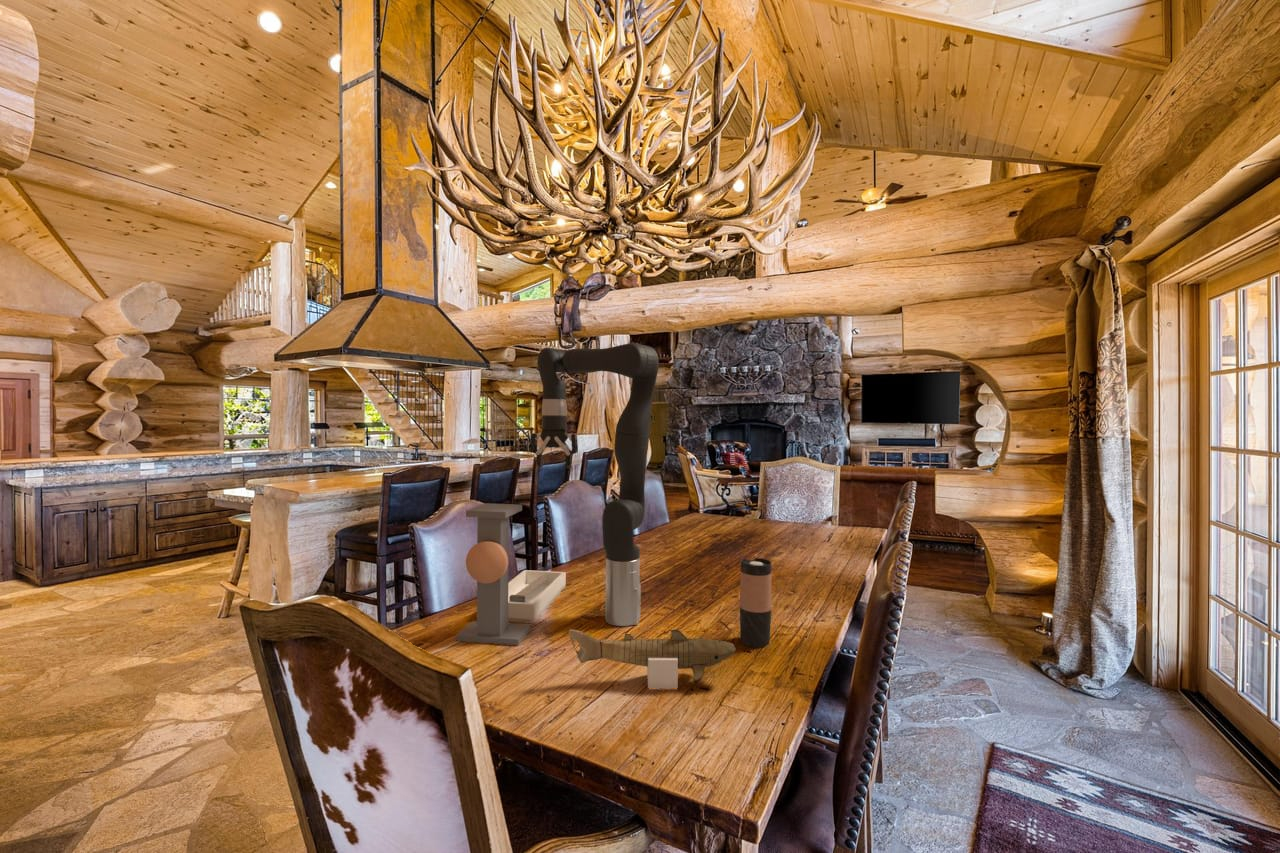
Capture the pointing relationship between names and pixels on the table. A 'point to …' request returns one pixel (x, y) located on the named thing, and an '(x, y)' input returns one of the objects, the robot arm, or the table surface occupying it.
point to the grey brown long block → (531, 590)
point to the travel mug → (755, 602)
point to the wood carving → (656, 654)
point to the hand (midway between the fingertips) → (554, 467)
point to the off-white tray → (538, 604)
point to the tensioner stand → (492, 577)
